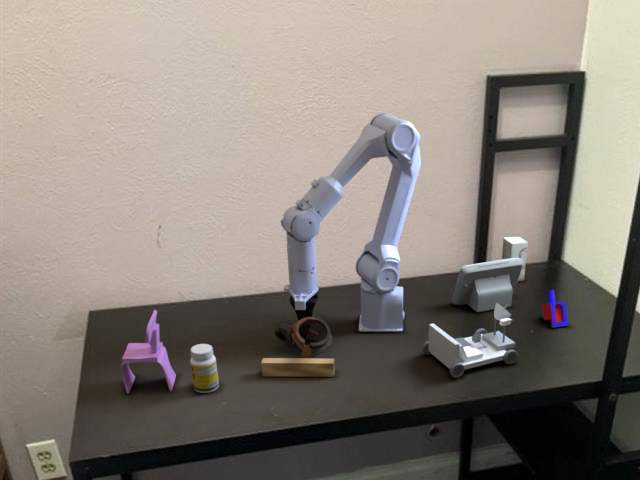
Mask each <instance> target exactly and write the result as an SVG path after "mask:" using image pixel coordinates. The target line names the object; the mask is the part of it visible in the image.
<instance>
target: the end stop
mask: <svg viewBox="0 0 640 480" xmlns="http://www.w3.org/2000/svg"><path fill="white" fill-rule="evenodd" d="M260 364H261V376H262V377H295V378H296V377H297V378H298V377H301V378H302V377H303V378H307V377H308V378H309V377H310V378H311V377H312V378H334V377H335V374H336V373H335V372H336V369H335V367H336V366H335V358H317V357H316V358H315V357H310V358H300V357H297V358H296V357H295V358H294V357H293V358H292V357H289V358H288V357H263V358H262V360H261V363H260Z"/></svg>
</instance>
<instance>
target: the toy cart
mask: <svg viewBox="0 0 640 480" xmlns="http://www.w3.org/2000/svg"><path fill="white" fill-rule="evenodd" d="M508 305H509V304H507V305H506V306H505V307H504V308H503V307H502V306H501V305H499V304H498V303H496V306H495V309H493V310H494V311H493V317H494V323H493V324H494V325H493V331H492V332H488V331H487V329H485V328H477V330H475V332H474V334H473V335H471V336H468V337H467V336H466V337H462V336H460V337H456V338H453V336H451V335H449V334H448V333H447V332H445V331H444V330H443V329H442V328H440V327H439V326H437V325H436V324H435V323H429V324H428V340H427V341H425V342H424V343H423V344H422V347H421V349H422V352H423V353H424V354H425V355H427V356H431V355H432V356H433V357H435V358H436V359H437V360H438V361H439V362H441V364H442V365H444V366H445V367H447V368H448V369H449V375H450V376H451V377H452V378H454V379H458V378H460V377H462V376H463V375H464V373H465V370H468V369H473V368H477V367H481V366H485V365H488V364H492V363H496V362H500V361H503V362H504V363H505V364H506V365H513V364H514V363H515V362H516V361H517V359H518V357H519V355H518V352H517V351H516V350H515V349H513V348H515V347H516V342H515V341H514V340H512V339H511V338H509V337H508V336H507V335H506V330H507V326H510V325H511V324H512V323H513V321H514V319H513V318H510V317H512V313H510V312H509V311H508V310H507V308H509V307H508ZM498 321H499V323H498V324H499V325H500V326H501V327H503V331H502V332H501V331H500V330H497V322H498Z"/></svg>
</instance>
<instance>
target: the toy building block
mask: <svg viewBox="0 0 640 480" xmlns="http://www.w3.org/2000/svg"><path fill="white" fill-rule="evenodd" d="M546 294H547V302H548V303H544V304H542V305H541V307H542V316H543V321H550V327H551V328H560V327H566V326H567V327H568V326H569V320H568V310H567V302H566V301H558V302H556V296H555V290H554V289H551V290H547V291H546Z"/></svg>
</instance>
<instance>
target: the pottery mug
mask: <svg viewBox="0 0 640 480" xmlns="http://www.w3.org/2000/svg"><path fill="white" fill-rule="evenodd" d="M316 324H318V325H320V326H321V327H322V328H323V329H324V330H325V337H324V338H323V339H322V340H321V341H318V342H317V341H316V340H317V337H318V335H319V333H318V332H316V331H314V330H312V329H311V327H310V326H312V325H313V326H314V325H316ZM273 334H274V336H275V338H276V339H277V340H279V341H280V342H281V343H283V345H284V346H285V347H286V348H289V347H290V345H291V346H294V344H295V345H296V346H297V347H298V348H300V349H301V354H300V356H299V358H315V357H317V356H319V355H320V354H323V353H324V352H326V351H327V350H328V348H329V347H330V345H331V343H332V341H333V335H332V333H331V329H330V327H329V325H328V323H327V322H326V321H324V320H323V319H321V318H318V317H315V316H312V317H307V318H303V319H301V320H299V321H298V320H297V322H295V323H293V324H289V323H284V322H283V323H282V322H281V323H278V324H276V325H275V327H274V328H273ZM305 339H306V340H310V341H313V342H310V343H309V345H306V343H305V342H306V340H305Z"/></svg>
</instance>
